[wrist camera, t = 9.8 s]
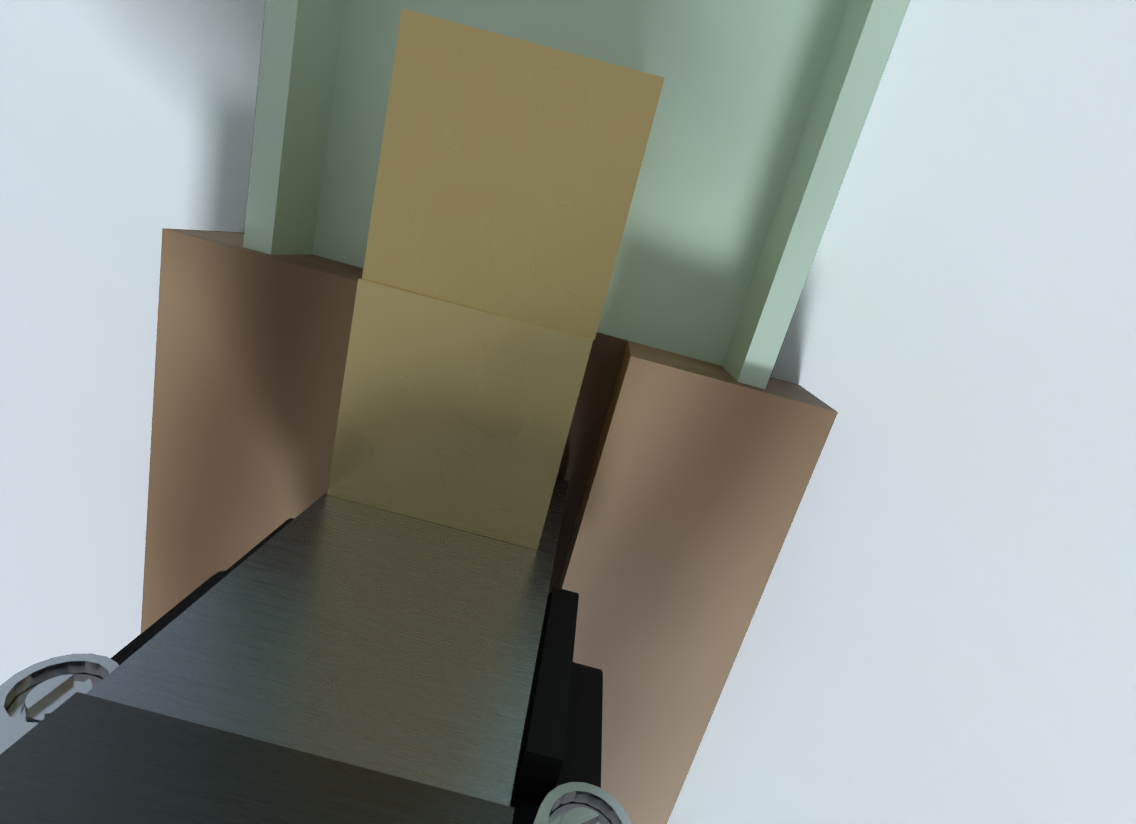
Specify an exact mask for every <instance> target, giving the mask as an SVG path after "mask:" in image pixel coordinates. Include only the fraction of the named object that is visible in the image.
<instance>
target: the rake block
mask: <svg viewBox="0 0 1136 824" xmlns="http://www.w3.org/2000/svg"><path fill="white" fill-rule="evenodd" d="M568 482H569V481H567V480H564V479H560V478H556V482H555V486H554V489H553V493H552V497H551V501H550V504H549V508H548V512H547V516H546V519H545V523H544V527H543V531H542V534H541V538H540V542H539V546H538V549H537V550H535V549H531V548H527V547H523V546H520V545H516V544H512V543H508V542H504V541H501V540H497V539H493V538H489V537H485V536H482V535H478V534H474V533H470V532H466V531H463V530H459V529H455V528H451V527H447V526H444V525H440V524H436V523H432V522H428V521H424V520H421V519H417V518H413V517H409V516H405V515H402V514H398V513H394V512H390V511H386V510H383V509H379V508H375V507H371V506H367V505H364V504H360V503H356V502H352V501H348V500H344V499H341V498H337V497H333V496H329V495H327V492H326V493H325V494H323V495H322V496H321V497H320V498H319V499H317V500H316V501H315V502H314V503H313V504H311V505H310V506H309V507H308V508H307V509H306V510H304V511H303V512H302V513H301V514H300V515H298V516H297V517H296V518H295V519H294V520H292V521H291V522H290V523H289V524H288V525H286V526H285V527H284V528H283V529H282V530H280V531H279V532H278V533H277V534H276V535H274V536H273V537H272V538H271V539H270V540H269V541H267V542H266V543H265V544H264V545H263V546H261V547H260V548H259V549H258V550H257V551H255V552H254V553H253V554H252V555H251V556H249V557H248V558H247V559H246V560H245V561H243V562H242V563H241V564H240V565H239V566H237V567H236V568H235V569H234V570H233V571H232V572H230V573H229V574H228V575H227V576H226V577H224V578H223V579H222V580H221V581H220V582H218V583H217V584H216V585H215V586H214V587H212V588H211V589H210V590H209V591H208V592H206V593H205V594H204V595H203V596H202V597H200V598H199V599H198V600H197V601H196V602H195V603H193V604H192V605H191V606H190V607H189V608H187V609H186V610H185V611H184V612H183V613H181V614H180V615H179V616H178V617H177V618H175V619H174V620H173V621H172V622H171V623H169V624H168V625H167V626H166V627H165V628H163V629H162V630H161V631H160V632H159V633H158V634H156V635H155V636H154V637H153V638H152V639H150V640H149V641H148V642H147V643H146V644H144V645H143V646H142V647H141V648H140V649H138V650H137V651H136V652H135V653H134V654H132V655H131V656H130V657H129V658H128V659H126V660H125V661H124V662H123V663H122V664H121V665H119V666H118V667H117V668H116V669H115V670H113V671H112V672H111V673H110V674H109V675H107V676H106V677H105V678H104V679H103V680H101V681H100V682H99V683H98V684H97V685H95V686H94V687H93V688H92V689H91V690H89V691H88V692H87V693H86V694H83V693H79V692H76V693H75V694H74V695H72V696H71V697H70V698H69V699H67V700H66V701H65V702H64V703H63V704H61V705H60V706H59V707H58V708H56V709H55V710H54V711H53V712H52V713H50V714H49V715H48V716H47V717H45V718H44V719H43V720H42V721H41V722H39V723H38V724H37V725H36V726H35V727H33V728H32V729H31V730H30V731H28V732H27V733H26V734H25V735H24V736H22V737H21V738H20V739H19V740H17V741H16V742H15V743H14V744H13V745H11V746H10V747H9V748H8V749H6V750H5V751H4V752H3V753H2V754H0V824H512V821H513V815H514V809H515V808H514V807H510V801H511V795H512V790H513V784H514V779H515V773H516V768H517V762H518V757H519V751H520V746H521V740H522V735H523V729H524V724H525V718H526V713H527V707H528V702H529V696H530V691H531V685H532V680H533V674H534V669H535V663H536V658H537V652H538V647H539V641H540V636H541V630H542V625H543V619H544V614H545V608H546V603H547V597H548V592H549V586H550V581H551V575H552V570H553V564H554V559H555V553H556V548H557V542H558V537H559V531H560V526H561V520H562V515H563V509H564V504H565V498H566V493H567V487H568Z"/></svg>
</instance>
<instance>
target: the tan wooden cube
mask: <svg viewBox="0 0 1136 824" xmlns="http://www.w3.org/2000/svg"><path fill="white" fill-rule="evenodd" d="M664 79H665V78H664V77H661V76H657V75H653V74H649V73H645V72H642V71H638V70H634V69H630V68H626V67H623V66H619V65H615V64H611V63H607V62H604V61H600V60H596V59H592V58H588V57H585V56H581V55H577V54H573V53H570V52H566V51H562V50H558V49H554V48H551V47H547V46H543V45H539V44H535V43H532V42H528V41H524V40H520V39H516V38H513V37H509V36H505V35H501V34H497V33H494V32H490V31H486V30H482V29H478V28H475V27H471V26H467V25H463V24H460V23H456V22H452V21H448V20H444V19H441V18H437V17H433V16H429V15H425V14H422V13H418V12H414V11H410V10H406V9H403V8H401V15H400V22H399V28H398V35H397V42H396V49H395V56H394V63H393V69H392V76H391V83H390V90H389V97H388V104H387V110H386V117H385V124H384V131H383V138H382V144H381V151H380V158H379V165H378V172H377V179H376V185H375V192H374V199H373V206H372V213H371V220H370V226H369V233H368V240H367V247H366V254H365V261H364V267H363V274H362V279H365V280H368V281H372V282H376V283H380V284H384V285H387V286H391V287H395V288H399V289H403V290H406V291H410V292H414V293H418V294H422V295H425V296H429V297H433V298H437V299H441V300H444V301H448V302H452V303H456V304H460V305H463V306H467V307H471V308H475V309H479V310H482V311H486V312H490V313H494V314H498V315H501V316H505V317H509V318H513V319H516V320H520V321H524V322H528V323H532V324H535V325H539V326H543V327H547V328H551V329H554V330H558V331H562V332H566V333H570V334H573V335H577V336H581V337H585V338H589V339H592V340H595V336H596V333H597V329H598V325H599V322H600V318H601V314H602V310H603V307H604V303H605V299H606V295H607V292H608V288H609V284H610V280H611V277H612V273H613V269H614V265H615V262H616V258H617V254H618V251H619V247H620V243H621V239H622V236H623V232H624V228H625V224H626V221H627V217H628V213H629V209H630V206H631V202H632V198H633V194H634V191H635V187H636V183H637V180H638V176H639V172H640V168H641V165H642V161H643V157H644V153H645V150H646V146H647V142H648V138H649V135H650V131H651V127H652V123H653V120H654V116H655V112H656V109H657V105H658V101H659V97H660V94H661V90H662V86H663V82H664Z"/></svg>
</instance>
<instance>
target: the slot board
mask: <svg viewBox="0 0 1136 824" xmlns="http://www.w3.org/2000/svg"><path fill="white" fill-rule="evenodd" d="M243 239H244V234H242V233H238V232H222V231H202V230H182V229H163V231H162V250H161V269H160V287H159V306H158V324H157V343H156V361H155V380H154V399H153V417H152V436H151V454H150V473H149V492H148V510H147V529H146V547H145V566H144V585H143V603H142V622H141V633H143V632H144V631H145V630H146V629H148V628H149V627H150V626H151V625H152V624H154V623H155V622H156V621H157V620H159V619H160V618H161V617H162V616H163V615H165V614H166V613H167V612H168V611H170V610H171V609H172V608H173V607H175V606H176V605H177V604H178V603H179V602H181V601H182V600H183V599H184V598H186V597H187V596H188V595H189V594H190V593H192V592H193V591H194V590H195V589H197V588H198V587H199V586H200V585H201V584H203V583H204V582H205V581H206V580H208V579H209V578H210V577H211V576H213V575H214V574H216V573H217V572H219V571H226V570H227V569H229V568H230V567H231V566H232V565H233V564H235V563H236V562H237V561H238V560H239V559H241V558H242V557H243V556H244V555H245V554H247V553H248V552H249V551H250V550H251V549H253V548H254V547H255V546H256V545H257V544H259V543H260V542H261V541H262V540H263V539H265V538H266V537H267V536H268V535H269V534H271V533H272V532H273V531H274V530H275V529H277V528H278V527H279V526H280V525H281V524H283V523H284V522H285V521H286V520H288V519H290V518H294V519H295V518H296V517H297V516H298V515H300V514H301V513H302V512H303V511H304V510H306V509H307V508H308V507H309V506H310V505H311V504H313V503H314V502H315V501H316V500H317V499H319V498H320V497H321V496H322V495H323V494H325V493H326V492H327V491H328V484H329V477H330V470H331V463H332V456H333V449H334V443H335V436H336V429H337V422H338V415H339V408H340V401H341V394H342V387H343V380H344V374H345V367H346V360H347V353H348V346H349V339H350V332H351V325H352V318H353V312H354V305H355V298H356V291H357V284H358V279H360V278H362V274H363V268H360V267H357V266H353V265H349V264H346V263H342V262H338V261H335V260H331V259H327V258H324V257H320V256H316V255H313V254H294V255H270V254H266V253H263V252H259V251H255V250H252V249H248V248H244V247H243ZM837 413H838V412H836V411H835V410H834V409H832V408H831V407H829V406H828V405H827V404H825V403H824V402H822V401H821V400H820V399H818V398H817V397H815V396H814V395H812V394H811V393H810V392H808V391H807V390H805V389H804V388H803V387H801V386H800V385H796V384H793V383H789V382H785V381H782V380H778V379H774V378H771V377H770V378H769V381H768V383H767V386H766V389H762V388H758V387H755V386H751V385H747V384H744V383H740V382H737V381H736V380H735V379H734V378H733V377H732V376H731V375H730V374H729V373H728V372H727V371H726V370H725V369H724V368H723V367H722V366H720V365H716V364H713V363H709V362H705V361H702V360H698V359H694V358H691V357H687V356H683V355H680V354H676V353H672V352H669V351H665V350H661V349H658V348H654V347H650V346H647V345H643V344H639V343H636V342H632V341H628V340H625V339H621V338H617V337H614V336H610V335H606V334H603V333H599V332H597V333H596V336H595V340H593V343H592V347H591V351H590V354H589V358H588V362H587V366H586V369H585V373H584V377H583V381H582V384H581V388H580V392H579V396H578V399H577V403H576V407H575V411H574V414H573V418H572V422H571V426H570V429H569V433H568V437H567V441H566V444H565V448H564V452H563V456H562V459H561V463H560V467H559V471H558V474H557V478H560V479H564V480H567V481H569V482H568V487H567V493H566V498H565V504H564V509H563V515H562V520H561V526H560V531H559V537H558V542H557V548H556V553H555V559H554V564H553V570H552V575H551V581H550V586H549V592H548V593H551V592H552V589H553V587H557V588H561V589H564V590H568V591H572V592H576V593H579V600H578V611H577V622H576V633H575V643H574V654H573V662H575V663H578V664H582V665H586V666H590V667H594V668H597V669H601V670H602V672H603V704H602V758H601V789H603V790H604V791H606V792H607V793H609V794H610V795H612V796H613V797H614V798H615V799H616V800H617V801H618V802H619V804H620V805H621V806H622V807H623V808H624V810H625V812H626V813H627V815H628V817H629V819H630V820H631V823H632V824H667V822H668V820H669V817H670V815H671V812H672V810H673V808H674V805H675V803H676V800H677V798H678V796H679V793H680V791H681V788H682V786H683V783H684V781H685V779H686V776H687V774H688V771H689V769H690V767H691V764H692V762H693V759H694V757H695V755H696V752H697V750H698V747H699V745H700V743H701V740H702V738H703V735H704V733H705V731H706V728H707V726H708V723H709V721H710V718H711V716H712V714H713V711H714V709H715V706H716V704H717V702H718V699H719V697H720V694H721V692H722V690H723V687H724V685H725V682H726V680H727V678H728V675H729V673H730V670H731V668H732V666H733V663H734V661H735V658H736V656H737V653H738V651H739V649H740V646H741V644H742V641H743V639H744V637H745V634H746V632H747V629H748V627H749V625H750V622H751V620H752V617H753V615H754V613H755V610H756V608H757V605H758V603H759V601H760V598H761V596H762V593H763V591H764V588H765V586H766V584H767V581H768V579H769V576H770V574H771V572H772V569H773V567H774V564H775V562H776V560H777V557H778V555H779V552H780V550H781V548H782V545H783V543H784V540H785V538H786V536H787V533H788V531H789V528H790V526H791V523H792V521H793V519H794V516H795V514H796V511H797V509H798V507H799V504H800V502H801V499H802V497H803V495H804V492H805V490H806V487H807V485H808V483H809V480H810V478H811V475H812V473H813V471H814V468H815V466H816V463H817V461H818V458H819V456H820V454H821V451H822V449H823V446H824V444H825V442H826V439H827V437H828V434H829V432H830V430H831V427H832V425H833V422H834V420H835V418H836V415H837Z"/></svg>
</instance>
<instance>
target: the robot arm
mask: <svg viewBox="0 0 1136 824" xmlns="http://www.w3.org/2000/svg"><path fill="white" fill-rule="evenodd" d="M292 520H294V518H290V519H288V520H286V521H285V522H284V523H283V524H281V525H280V526H279V527H278V528H277V529H275V530H274V531H273V532H272V533H271V534H269V535H268V536H267V537H266V538H265V539H263V540H262V541H261V542H260V543H259V544H257V545H256V546H255V547H254V548H253V549H251V550H250V551H249V552H248V553H247V554H245V555H244V556H243V557H242V558H241V559H239V560H238V561H237V562H236V563H235V564H233V565H232V566H231V567H230V568H229V569H227V570H226V571H219V572H217V573H216V574H214V575H213V576H211V577H210V578H209V579H208V580H206V581H205V582H204V583H203V584H201V585H200V586H199V587H198V588H197V589H195V590H194V591H193V592H192V593H190V594H189V595H188V596H187V597H186V598H184V599H183V600H182V601H181V602H179V603H178V604H177V605H176V606H175V607H173V608H172V609H171V610H170V611H168V612H167V613H166V614H165V615H163V616H162V617H161V618H160V619H159V620H157V621H156V622H155V623H154V624H152V625H151V626H150V627H149V628H148V629H146V630H145V631H144V632H143V633H141V634H140V635H139V636H138V637H136V638H135V639H134V640H133V641H132V642H130V643H129V644H128V645H127V646H125V647H124V648H123V649H122V650H121V651H119V652H118V653H117V654H116V655H114V656H113V657H112V658H111V659H110V658H108V657H106V656H101V655H96V654H70V655H65V656H59V657H54V658H51V659H48V660H45V661H42V662H39V663H36V664H33V665H32V666H30V667H28V668H26V669H24V670H22V671H20V672H18V673H16V674H15V675H13V676H12V677H11V678H10V679H8V680H7V681H6V682H4V683H3V684H2V685H1V686H0V754H2V753H3V752H4V751H5V750H6V749H8V748H9V747H10V746H11V745H13V744H14V743H15V742H16V741H17V740H19V739H20V738H21V737H22V736H24V735H25V734H26V733H27V732H28V731H30V730H31V729H32V728H33V727H35V726H36V725H37V724H38V723H39V722H41V721H42V720H43V719H44V718H45V717H47V716H48V715H49V714H50V713H52V712H53V711H54V710H55V709H56V708H58V707H59V706H60V705H61V704H63V703H64V702H65V701H66V700H67V699H69V698H70V697H71V696H72V695H74V694H75V693H76V692H79V693H83V694H86V693H87V692H88V691H89V690H91V689H92V688H93V687H94V686H95V685H97V684H98V683H99V682H100V681H101V680H103V679H104V678H105V677H106V676H107V675H109V674H110V673H111V672H112V671H113V670H115V669H116V668H117V667H118V666H119V665H121V664H122V663H123V662H124V661H125V660H126V659H128V658H129V657H130V656H131V655H132V654H134V653H135V652H136V651H137V650H138V649H140V648H141V647H142V646H143V645H144V644H146V643H147V642H148V641H149V640H150V639H152V638H153V637H154V636H155V635H156V634H158V633H159V632H160V631H161V630H162V629H163V628H165V627H166V626H167V625H168V624H169V623H171V622H172V621H173V620H174V619H175V618H177V617H178V616H179V615H180V614H181V613H183V612H184V611H185V610H186V609H187V608H189V607H190V606H191V605H192V604H193V603H195V602H196V601H197V600H198V599H199V598H200V597H202V596H203V595H204V594H205V593H206V592H208V591H209V590H210V589H211V588H212V587H214V586H215V585H216V584H217V583H218V582H220V581H221V580H222V579H223V578H224V577H226V576H227V575H228V574H229V573H230V572H232V571H233V570H234V569H235V568H236V567H237V566H239V565H240V564H241V563H242V562H243V561H245V560H246V559H247V558H248V557H249V556H251V555H252V554H253V553H254V552H255V551H257V550H258V549H259V548H260V547H261V546H263V545H264V544H265V543H266V542H267V541H269V540H270V539H271V538H272V537H273V536H274V535H276V534H277V533H278V532H279V531H280V530H282V529H283V528H284V527H285V526H286V525H288V524H289V523H290V522H291V521H292ZM578 600H579V593H576V592H572V591H568V590H564V589H561V588H557V587H553V589H552V592H551V593H548V597H547V603H546V608H545V614H544V619H543V625H542V630H541V636H540V641H539V647H538V652H537V658H536V663H535V669H534V674H533V680H532V685H531V691H530V696H529V702H528V707H527V713H526V718H525V724H524V729H523V735H522V740H521V746H520V751H519V757H518V762H517V768H516V773H515V779H514V784H513V790H512V795H511V801H510V807H514V808H515V809H514V815H513V821H512V824H632V823H631V820H630V819H629V817H628V815H627V813H626V812H625V810H624V808H623V807H622V806H621V805H620V804H619V802H618V801H617V800H616V799H615V798H614V797H613V796H612V795H610V794H609V793H607V792H606V791H604V790H603V789H601V758H602V704H603V672H602V670H601V669H597V668H594V667H590V666H586V665H582V664H578V663H575V662H573V654H574V643H575V633H576V622H577V611H578Z"/></svg>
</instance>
